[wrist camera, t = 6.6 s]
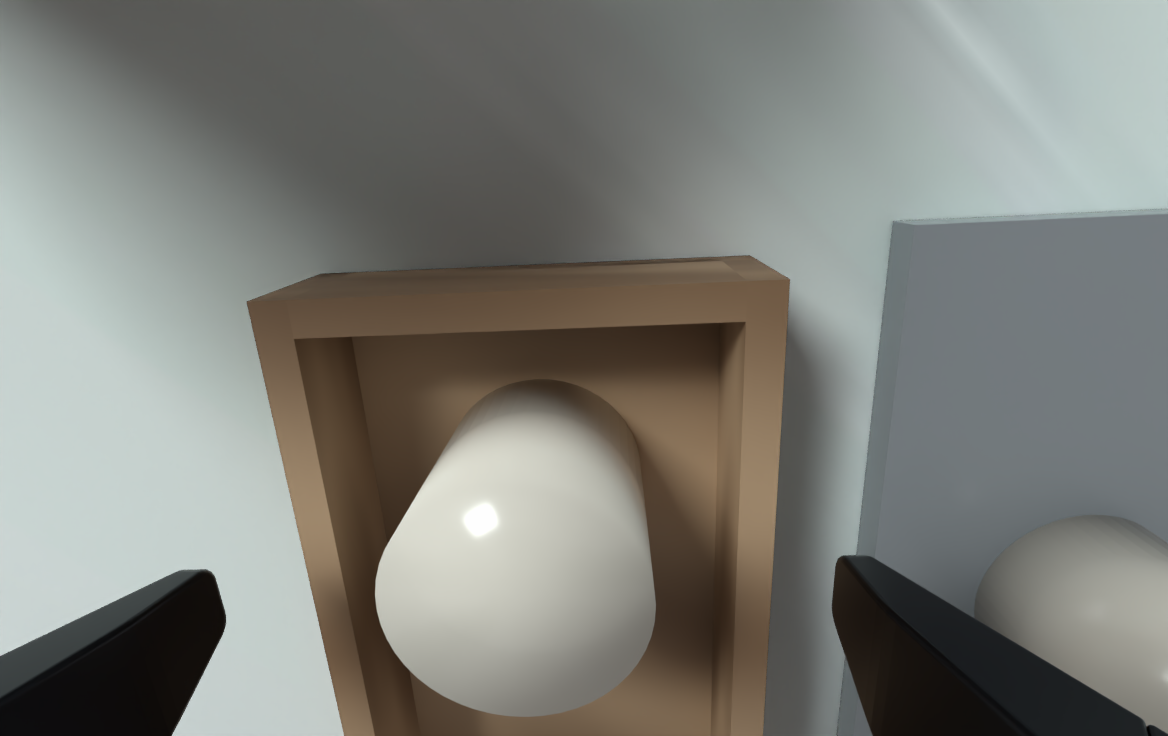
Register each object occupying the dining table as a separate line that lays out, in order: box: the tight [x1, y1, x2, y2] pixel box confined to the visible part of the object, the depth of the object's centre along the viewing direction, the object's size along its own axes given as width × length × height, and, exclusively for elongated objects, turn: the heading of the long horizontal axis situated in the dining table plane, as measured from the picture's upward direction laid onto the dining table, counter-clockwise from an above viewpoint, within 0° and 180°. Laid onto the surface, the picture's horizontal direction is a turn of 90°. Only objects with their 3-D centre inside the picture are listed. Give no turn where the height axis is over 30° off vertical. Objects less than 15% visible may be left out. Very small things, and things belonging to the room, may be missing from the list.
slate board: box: [837, 209, 1168, 736], centre depth 13 cm, size 15×8×1 cm, turn 3°
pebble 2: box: [974, 515, 1168, 734], centre depth 10 cm, size 4×4×4 cm
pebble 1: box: [375, 379, 656, 717], centre depth 10 cm, size 4×4×4 cm
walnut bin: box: [247, 255, 790, 736], centre depth 12 cm, size 14×8×2 cm, turn 3°
